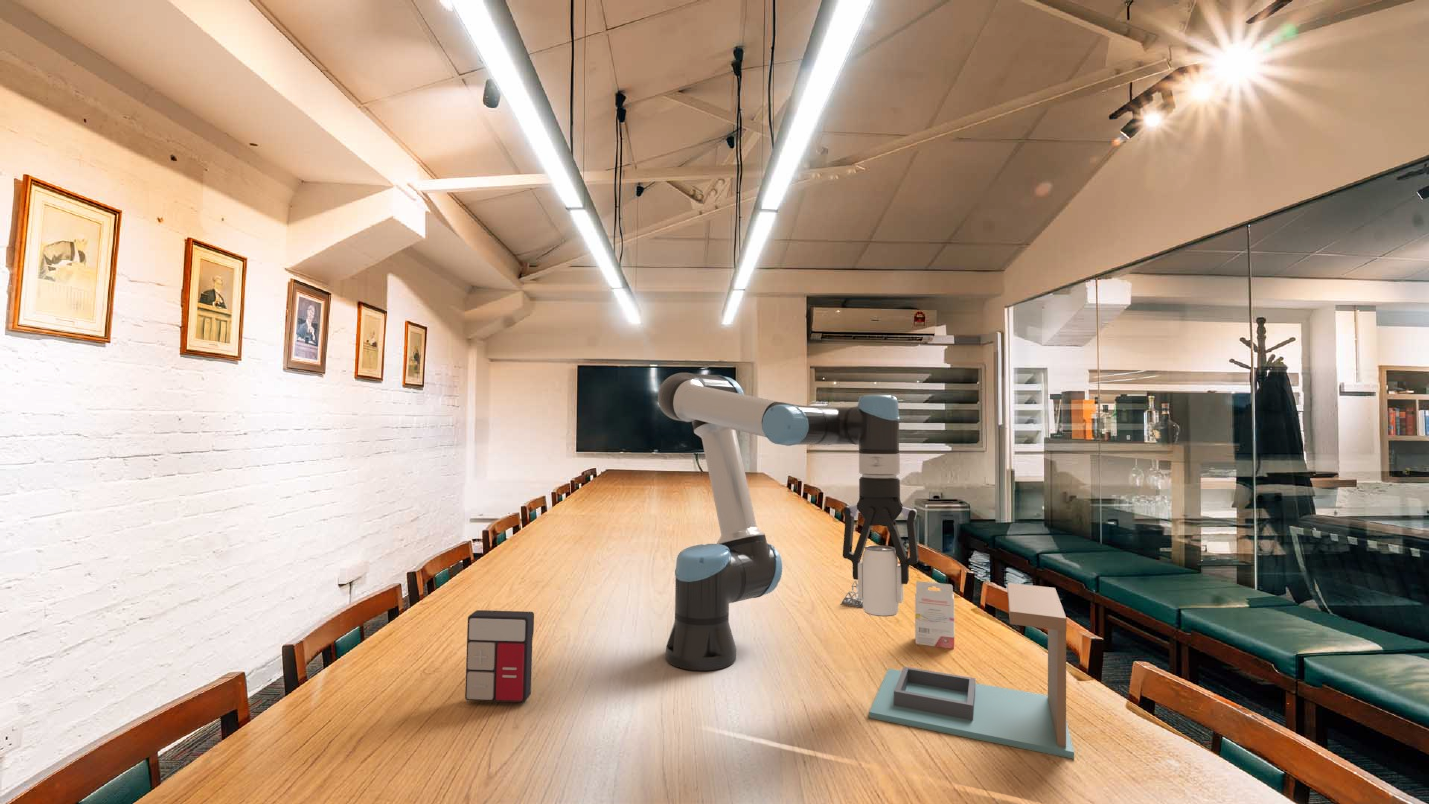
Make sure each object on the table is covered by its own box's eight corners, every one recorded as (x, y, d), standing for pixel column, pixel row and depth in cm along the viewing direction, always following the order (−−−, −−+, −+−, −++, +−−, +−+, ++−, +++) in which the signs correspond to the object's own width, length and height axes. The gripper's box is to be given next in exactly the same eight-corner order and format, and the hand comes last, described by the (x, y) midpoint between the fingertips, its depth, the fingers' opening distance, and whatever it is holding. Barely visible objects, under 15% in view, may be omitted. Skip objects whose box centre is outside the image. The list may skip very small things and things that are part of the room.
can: (899, 618, 117) (898, 551, 117) (863, 615, 118) (862, 550, 119) (897, 608, 123) (896, 545, 124) (862, 606, 125) (862, 544, 125)
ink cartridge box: (954, 644, 150) (955, 580, 150) (954, 650, 145) (954, 585, 145) (916, 638, 153) (916, 576, 153) (914, 645, 148) (915, 581, 149)
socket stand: (869, 717, 111) (870, 594, 111) (888, 673, 131) (889, 569, 131) (1074, 758, 98) (1074, 620, 99) (1060, 702, 118) (1060, 588, 119)
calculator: (462, 702, 113) (465, 616, 114) (472, 692, 118) (475, 609, 118) (524, 704, 113) (526, 618, 114) (532, 694, 117) (534, 611, 118)
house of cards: (880, 606, 181) (881, 579, 181) (870, 614, 173) (871, 585, 174) (850, 601, 186) (850, 574, 186) (839, 608, 178) (839, 580, 178)
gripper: (824, 475, 123) (825, 598, 121) (930, 478, 115) (932, 609, 113) (833, 473, 129) (834, 589, 128) (934, 476, 121) (936, 600, 120)
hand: (880, 598), depth 121 cm, fingers closed on can, 6 cm apart
